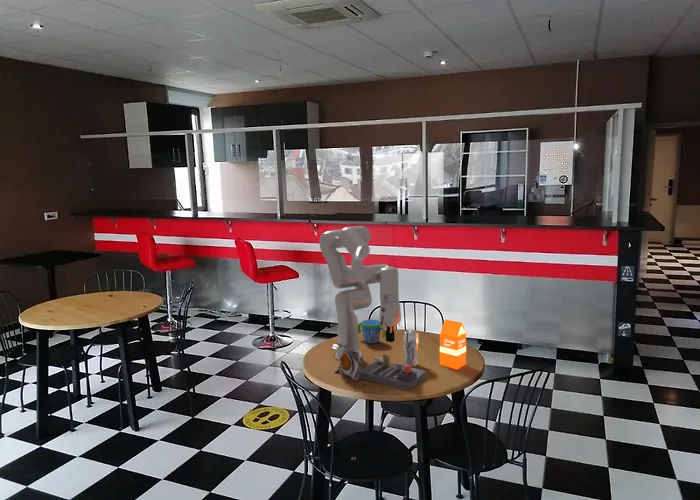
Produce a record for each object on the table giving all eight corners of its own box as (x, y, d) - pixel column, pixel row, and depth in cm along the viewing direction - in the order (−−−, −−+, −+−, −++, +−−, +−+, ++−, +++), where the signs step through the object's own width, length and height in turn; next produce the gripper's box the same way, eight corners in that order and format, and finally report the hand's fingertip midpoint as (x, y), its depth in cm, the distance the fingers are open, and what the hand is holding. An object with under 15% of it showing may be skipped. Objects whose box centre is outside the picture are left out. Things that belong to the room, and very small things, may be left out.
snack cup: (353, 341, 265) (352, 321, 264) (366, 336, 273) (366, 317, 272) (377, 347, 255) (377, 327, 254) (390, 342, 263) (390, 322, 261)
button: (401, 374, 210) (401, 366, 209) (405, 371, 213) (405, 363, 212) (409, 376, 208) (409, 367, 208) (412, 373, 211) (412, 365, 210)
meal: (332, 373, 224) (332, 344, 222) (340, 370, 227) (340, 341, 225) (354, 384, 212) (354, 353, 210) (362, 381, 215) (362, 351, 213)
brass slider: (382, 367, 223) (382, 354, 222) (384, 365, 224) (384, 353, 223) (388, 368, 221) (388, 355, 220) (390, 366, 223) (390, 354, 222)
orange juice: (456, 369, 226) (457, 324, 223) (439, 364, 232) (439, 321, 229) (466, 364, 232) (466, 320, 229) (448, 359, 238) (449, 317, 235)
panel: (357, 377, 219) (357, 366, 218) (377, 365, 232) (377, 354, 231) (408, 390, 206) (408, 378, 205) (426, 376, 219) (426, 365, 218)
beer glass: (409, 368, 229) (409, 335, 226) (400, 362, 235) (400, 330, 232) (422, 365, 232) (422, 332, 229) (413, 360, 238) (413, 328, 236)
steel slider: (396, 371, 218) (396, 363, 218) (398, 369, 220) (398, 362, 219) (402, 372, 216) (402, 365, 216) (404, 371, 218) (404, 363, 217)
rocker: (373, 359, 228) (374, 357, 228) (376, 358, 230) (376, 356, 230) (385, 364, 225) (385, 362, 225) (387, 363, 227) (388, 361, 227)
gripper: (388, 302, 203) (389, 347, 206) (406, 294, 216) (407, 337, 218) (371, 300, 208) (372, 344, 210) (390, 293, 220) (391, 335, 222)
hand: (390, 341), depth 214 cm, fingers closed
